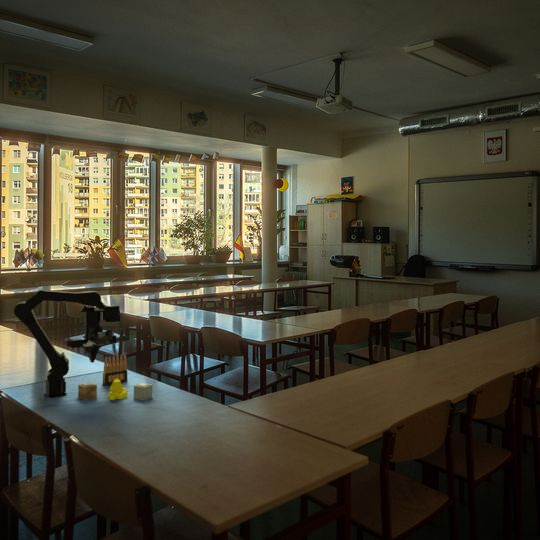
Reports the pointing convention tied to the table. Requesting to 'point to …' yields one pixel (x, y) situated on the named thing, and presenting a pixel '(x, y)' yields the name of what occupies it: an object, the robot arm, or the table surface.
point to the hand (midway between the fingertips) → (92, 362)
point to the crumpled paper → (117, 390)
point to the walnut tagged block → (87, 391)
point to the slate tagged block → (142, 391)
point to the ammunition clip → (115, 370)
